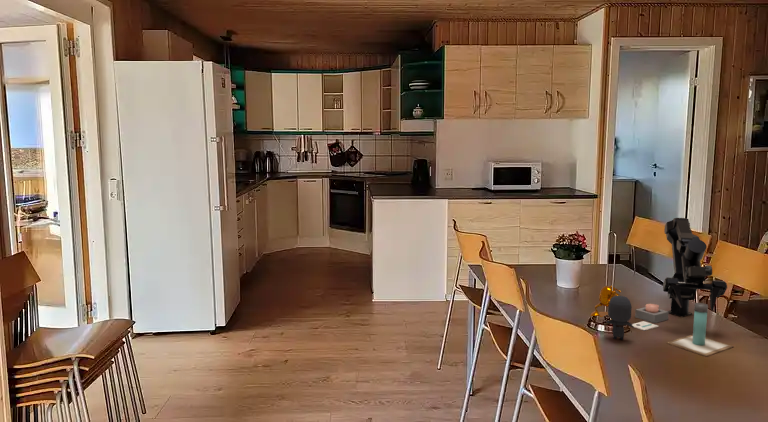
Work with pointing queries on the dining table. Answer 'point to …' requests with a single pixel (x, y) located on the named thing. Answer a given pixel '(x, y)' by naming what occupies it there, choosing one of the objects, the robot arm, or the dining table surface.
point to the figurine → (605, 299)
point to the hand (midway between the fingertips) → (696, 308)
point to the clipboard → (705, 350)
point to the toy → (619, 315)
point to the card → (644, 325)
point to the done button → (652, 308)
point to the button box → (651, 315)
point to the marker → (699, 323)
